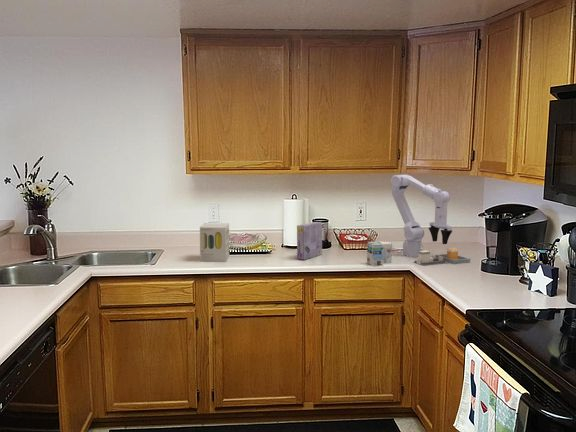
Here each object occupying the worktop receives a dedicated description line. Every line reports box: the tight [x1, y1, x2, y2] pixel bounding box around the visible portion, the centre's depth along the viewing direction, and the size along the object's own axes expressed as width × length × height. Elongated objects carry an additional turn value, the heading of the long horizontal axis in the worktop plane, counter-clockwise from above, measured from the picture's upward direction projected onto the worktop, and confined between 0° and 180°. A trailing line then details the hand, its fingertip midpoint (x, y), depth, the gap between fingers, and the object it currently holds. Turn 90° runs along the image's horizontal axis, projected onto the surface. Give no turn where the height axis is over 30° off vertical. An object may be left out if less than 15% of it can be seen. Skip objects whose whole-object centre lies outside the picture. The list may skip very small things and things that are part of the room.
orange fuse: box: [446, 247, 459, 260], centre depth 278 cm, size 3×5×6 cm
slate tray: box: [434, 253, 471, 265], centre depth 278 cm, size 14×10×3 cm
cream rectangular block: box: [417, 250, 431, 263], centre depth 271 cm, size 3×5×6 cm
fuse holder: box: [412, 256, 448, 267], centre depth 273 cm, size 9×14×4 cm, turn 114°
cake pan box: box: [296, 221, 323, 261], centre depth 288 cm, size 19×5×18 cm, turn 146°
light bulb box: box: [366, 240, 393, 267], centre depth 273 cm, size 11×7×11 cm, turn 105°
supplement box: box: [199, 222, 230, 263], centre depth 282 cm, size 13×13×18 cm
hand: (439, 242), depth 278 cm, fingers open, 7 cm apart
